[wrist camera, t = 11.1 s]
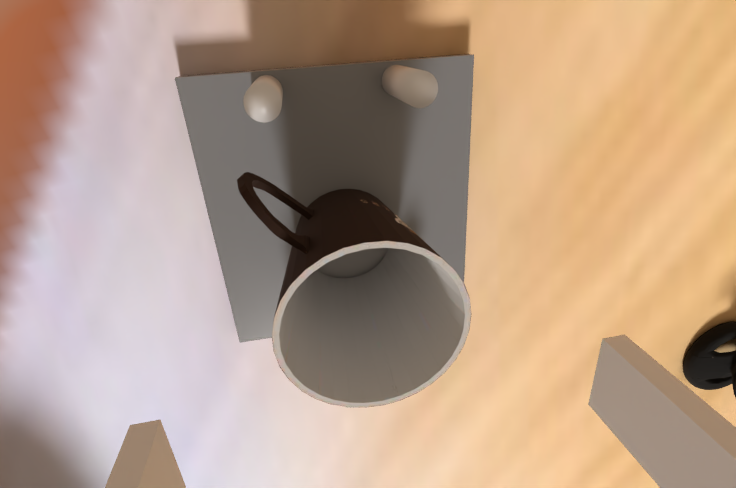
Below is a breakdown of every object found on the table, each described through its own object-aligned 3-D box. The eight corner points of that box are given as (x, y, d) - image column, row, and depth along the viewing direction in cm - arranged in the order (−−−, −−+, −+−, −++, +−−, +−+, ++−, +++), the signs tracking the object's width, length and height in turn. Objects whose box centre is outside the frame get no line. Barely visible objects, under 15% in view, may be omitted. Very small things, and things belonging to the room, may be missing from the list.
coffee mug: (422, 272, 29) (481, 374, 20) (302, 309, 29) (308, 429, 20) (385, 101, 24) (444, 138, 15) (237, 144, 24) (206, 207, 15)
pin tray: (241, 331, 30) (231, 396, 25) (180, 76, 23) (145, 87, 17) (456, 299, 32) (491, 352, 27) (466, 54, 25) (517, 57, 19)
